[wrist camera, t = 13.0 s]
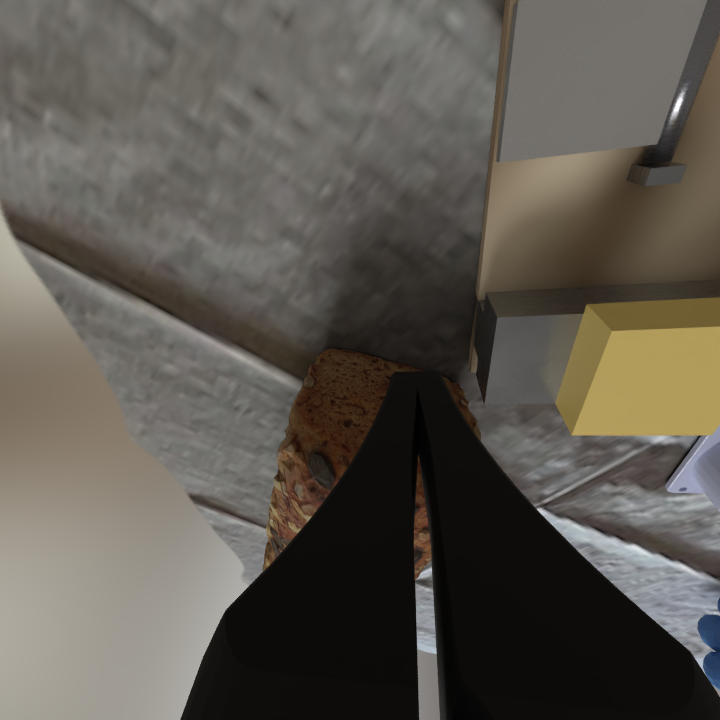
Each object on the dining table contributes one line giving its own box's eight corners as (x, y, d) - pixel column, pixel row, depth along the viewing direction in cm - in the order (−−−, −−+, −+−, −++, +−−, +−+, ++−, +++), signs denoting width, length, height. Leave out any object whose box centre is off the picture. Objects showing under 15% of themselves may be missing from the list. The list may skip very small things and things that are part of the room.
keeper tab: (741, -61, 10) (769, -74, 9) (661, 158, 13) (678, 160, 12) (514, -21, 11) (523, -30, 10) (493, 177, 14) (498, 180, 13)
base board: (961, -130, 9) (1002, -147, 9) (683, 358, 19) (692, 367, 19) (509, -42, 11) (515, -51, 10) (468, 364, 21) (470, 372, 20)
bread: (316, 333, 21) (265, 469, 13) (475, 376, 22) (518, 529, 14) (284, 489, 32) (246, 613, 24) (390, 514, 33) (386, 642, 25)
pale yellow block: (682, 261, 15) (795, 323, 11) (637, 357, 18) (711, 435, 14) (554, 270, 16) (612, 330, 12) (532, 360, 19) (571, 435, 15)
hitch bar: (997, -137, 9) (1518, -352, 5) (707, 344, 19) (799, 414, 14) (509, -42, 11) (577, -137, 7) (469, 351, 20) (487, 416, 16)
